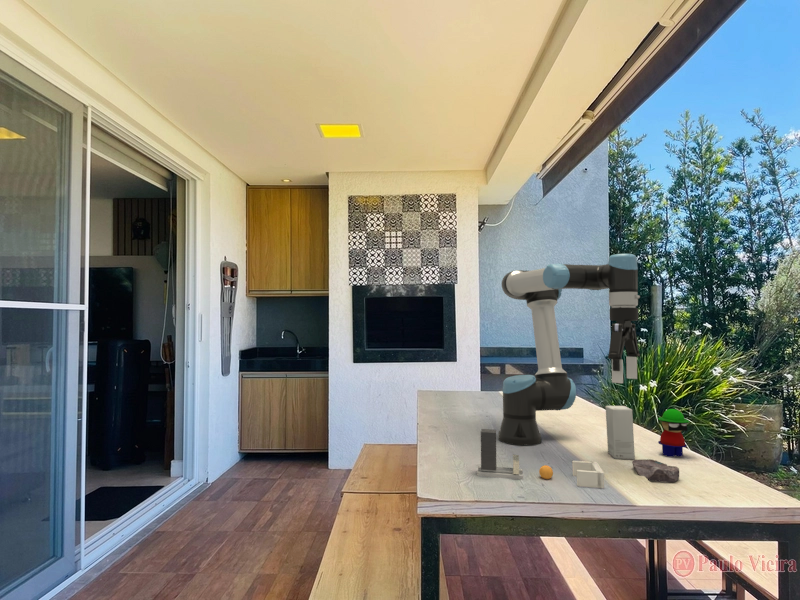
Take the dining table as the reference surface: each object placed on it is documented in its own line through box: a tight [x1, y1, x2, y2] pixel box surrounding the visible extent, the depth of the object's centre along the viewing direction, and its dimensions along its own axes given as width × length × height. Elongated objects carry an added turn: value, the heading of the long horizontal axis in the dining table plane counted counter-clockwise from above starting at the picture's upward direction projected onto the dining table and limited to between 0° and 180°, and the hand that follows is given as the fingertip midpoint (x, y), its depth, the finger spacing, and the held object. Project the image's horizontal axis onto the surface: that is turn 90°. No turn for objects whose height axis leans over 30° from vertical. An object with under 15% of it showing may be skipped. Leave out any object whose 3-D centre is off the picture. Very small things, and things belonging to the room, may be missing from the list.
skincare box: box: [605, 405, 636, 460], centre depth 147 cm, size 8×7×16 cm
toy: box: [657, 408, 691, 458], centre depth 147 cm, size 9×9×15 cm
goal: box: [571, 460, 605, 489], centre depth 119 cm, size 6×10×4 cm, turn 166°
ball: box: [538, 465, 554, 480], centre depth 121 cm, size 4×4×4 cm
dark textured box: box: [480, 428, 520, 475], centre depth 124 cm, size 10×6×12 cm, turn 77°
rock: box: [631, 458, 680, 483], centre depth 125 cm, size 8×11×5 cm
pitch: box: [476, 465, 524, 480], centre depth 122 cm, size 34×14×2 cm, turn 77°
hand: (625, 380), depth 131 cm, fingers open, 13 cm apart
